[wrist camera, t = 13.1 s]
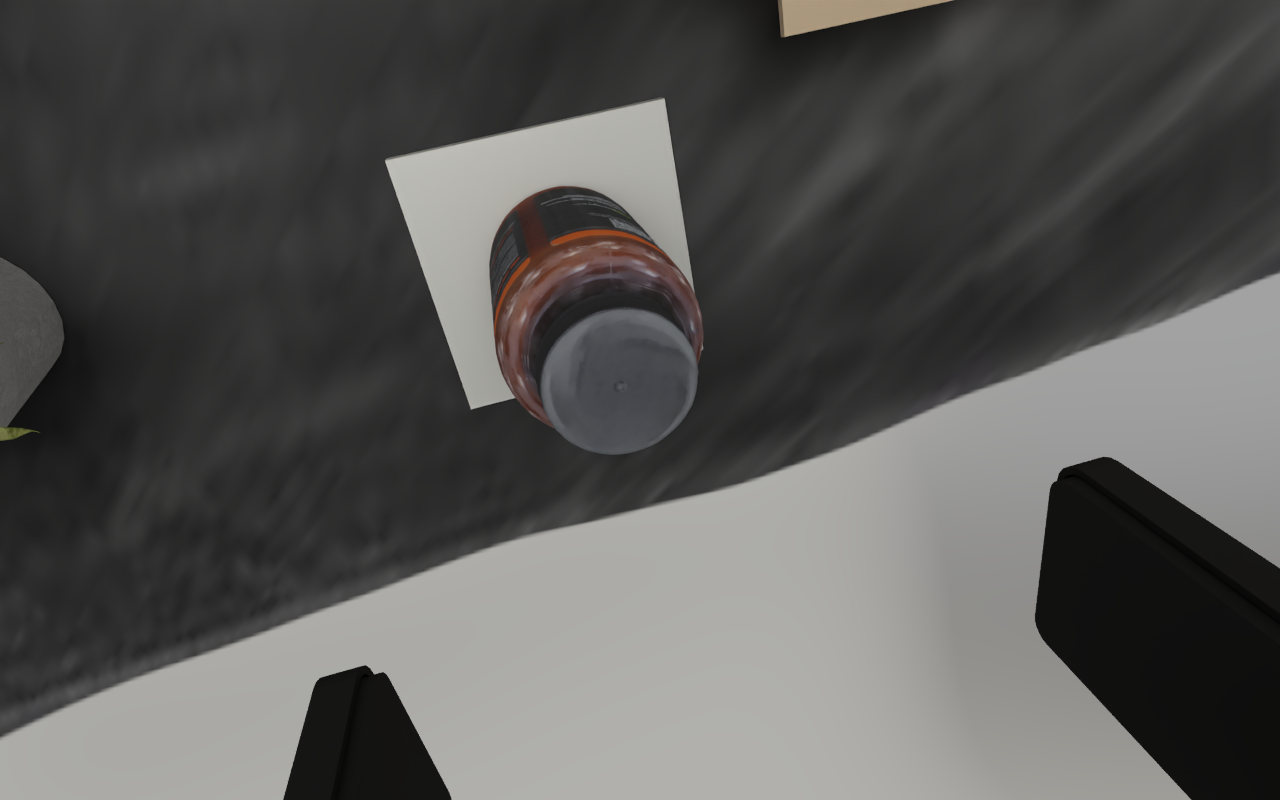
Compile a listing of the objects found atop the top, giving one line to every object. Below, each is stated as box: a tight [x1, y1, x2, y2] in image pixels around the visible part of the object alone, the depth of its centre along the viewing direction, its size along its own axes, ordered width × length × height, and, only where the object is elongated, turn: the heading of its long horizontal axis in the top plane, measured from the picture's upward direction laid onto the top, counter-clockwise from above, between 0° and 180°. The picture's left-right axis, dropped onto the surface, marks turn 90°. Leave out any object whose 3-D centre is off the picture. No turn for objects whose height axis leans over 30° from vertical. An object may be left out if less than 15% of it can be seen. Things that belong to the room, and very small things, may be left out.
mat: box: [385, 97, 703, 409], centre depth 27 cm, size 10×10×1 cm
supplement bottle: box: [489, 186, 703, 455], centre depth 22 cm, size 6×6×11 cm
